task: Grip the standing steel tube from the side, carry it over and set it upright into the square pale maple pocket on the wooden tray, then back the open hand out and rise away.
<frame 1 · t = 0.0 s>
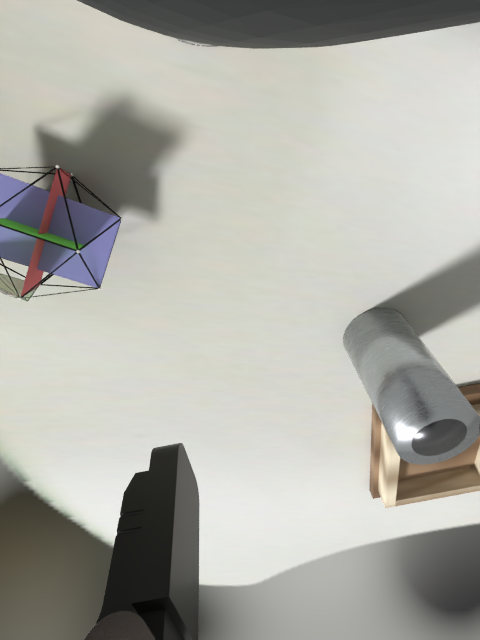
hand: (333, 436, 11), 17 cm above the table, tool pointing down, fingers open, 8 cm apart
wooden tray: (430, 440, 40), on the table
steel tube: (374, 334, 31), on the table
geometric puzzle: (64, 210, 24), on the table
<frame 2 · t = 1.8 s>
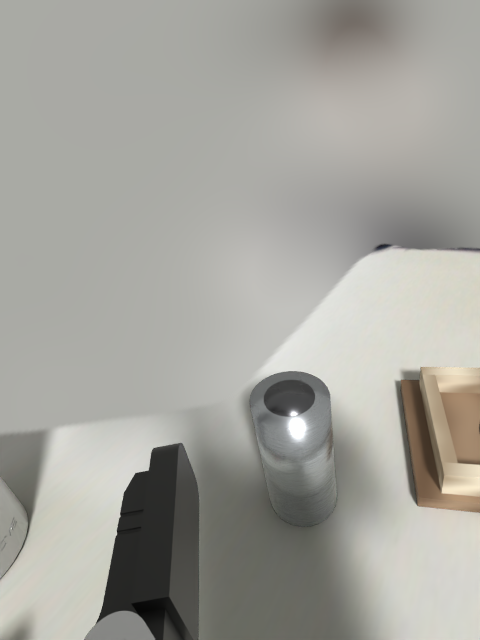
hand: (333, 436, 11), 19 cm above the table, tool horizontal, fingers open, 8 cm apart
steel tube: (302, 494, 30), on the table
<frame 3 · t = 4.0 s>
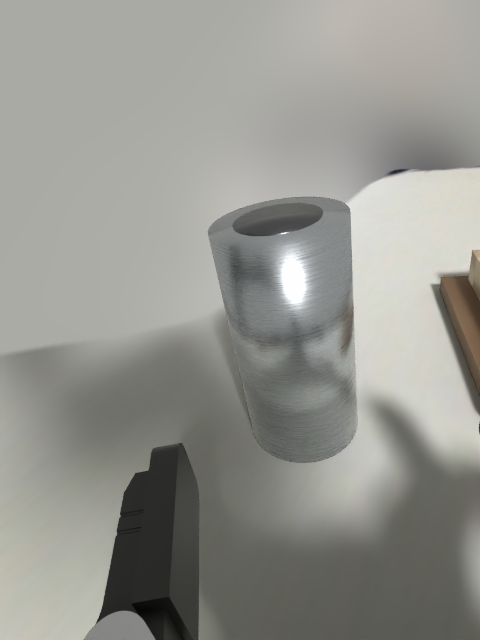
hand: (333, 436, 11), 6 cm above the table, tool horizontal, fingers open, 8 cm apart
steel tube: (303, 419, 19), on the table
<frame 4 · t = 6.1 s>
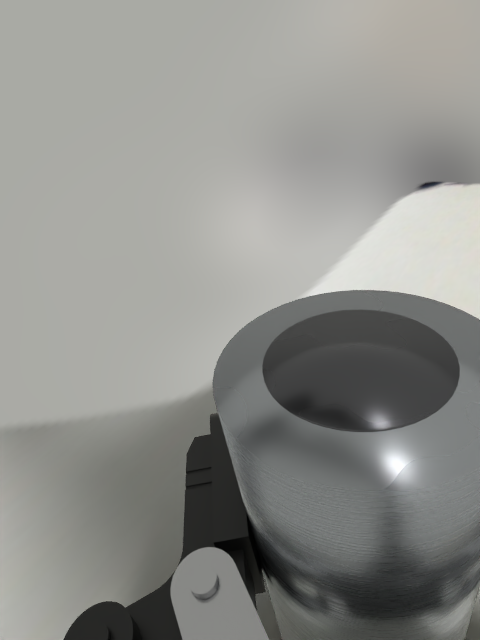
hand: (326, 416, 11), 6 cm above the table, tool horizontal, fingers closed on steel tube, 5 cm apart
steel tube: (362, 619, 12), on the table, touching gripper
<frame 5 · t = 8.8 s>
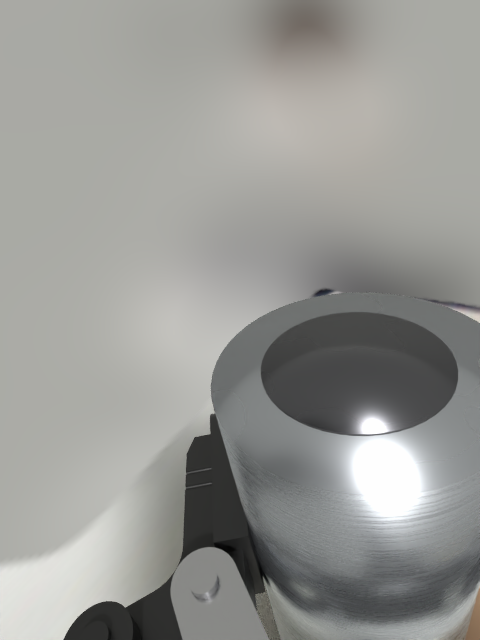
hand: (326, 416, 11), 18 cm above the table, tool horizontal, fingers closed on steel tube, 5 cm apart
steel tube: (362, 621, 12), point 12 cm above the table, touching gripper
when the fingers open (8 cm above the table, at t = 11.4 s): steel tube drops 1 cm, resting on wooden tray.
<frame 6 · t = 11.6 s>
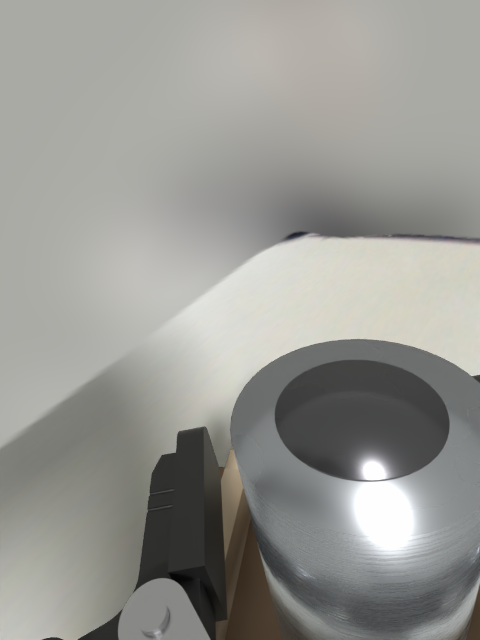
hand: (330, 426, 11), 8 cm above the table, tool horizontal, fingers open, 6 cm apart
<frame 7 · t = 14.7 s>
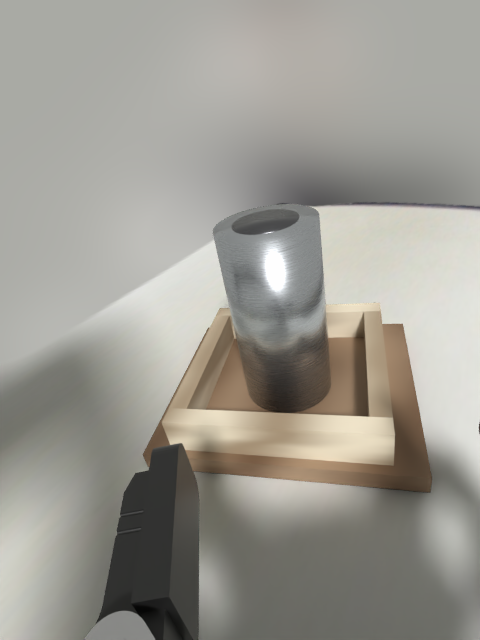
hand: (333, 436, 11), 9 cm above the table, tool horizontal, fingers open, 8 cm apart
wooden tray: (290, 393, 24), on the table
steel tube: (288, 382, 24), point 1 cm above the table, touching wooden tray
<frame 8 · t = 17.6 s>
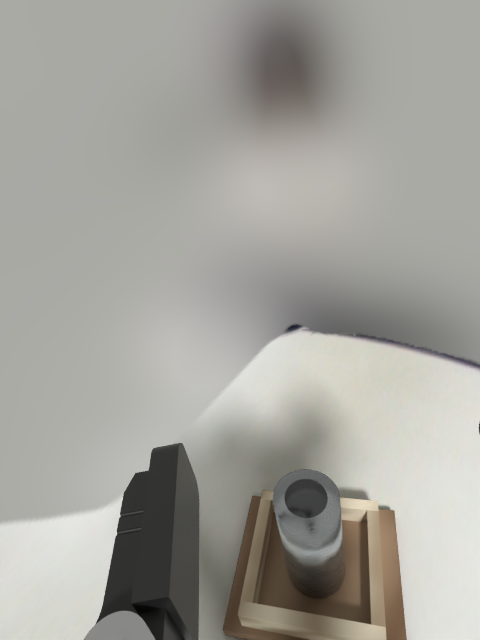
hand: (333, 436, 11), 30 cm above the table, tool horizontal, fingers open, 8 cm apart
wooden tray: (316, 571, 36), on the table
steel tube: (315, 566, 35), point 1 cm above the table, touching wooden tray
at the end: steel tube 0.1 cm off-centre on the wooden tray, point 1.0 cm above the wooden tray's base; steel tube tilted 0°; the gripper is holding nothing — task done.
